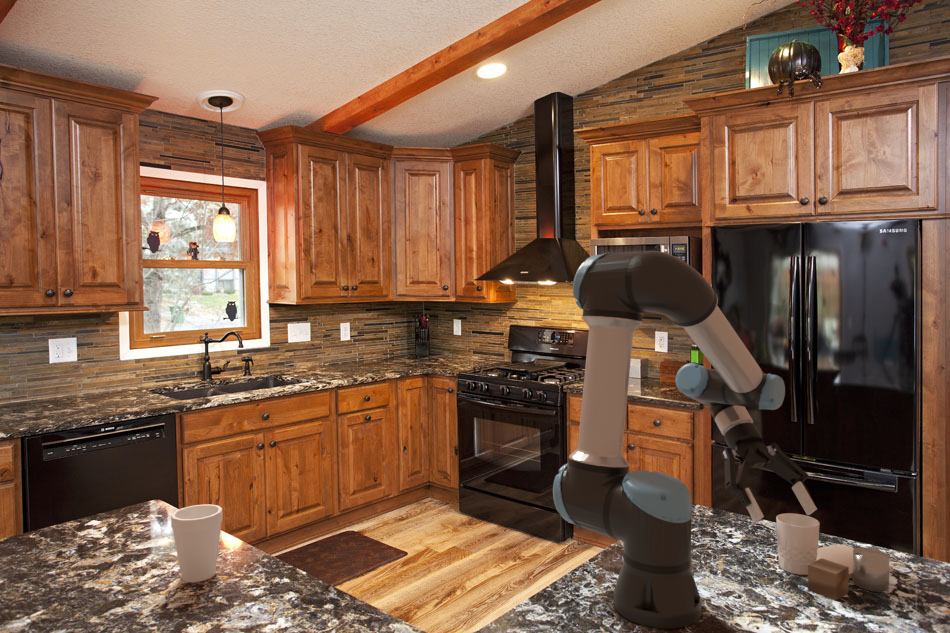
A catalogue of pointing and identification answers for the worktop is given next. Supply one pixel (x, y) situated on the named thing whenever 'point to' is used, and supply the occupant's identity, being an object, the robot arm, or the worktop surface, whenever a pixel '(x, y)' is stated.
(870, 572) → the grey tin
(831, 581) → the walnut block
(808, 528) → the white cup
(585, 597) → the worktop surface
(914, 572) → the worktop surface
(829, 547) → the tile
